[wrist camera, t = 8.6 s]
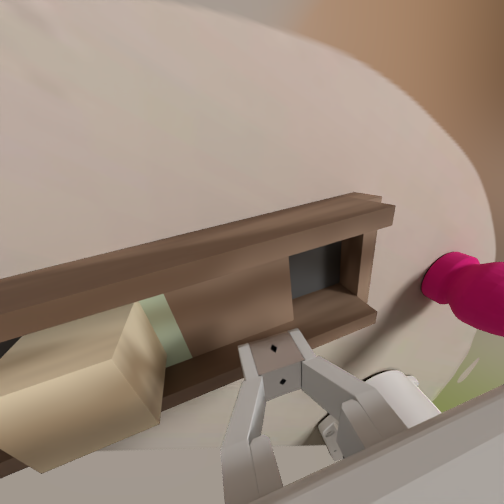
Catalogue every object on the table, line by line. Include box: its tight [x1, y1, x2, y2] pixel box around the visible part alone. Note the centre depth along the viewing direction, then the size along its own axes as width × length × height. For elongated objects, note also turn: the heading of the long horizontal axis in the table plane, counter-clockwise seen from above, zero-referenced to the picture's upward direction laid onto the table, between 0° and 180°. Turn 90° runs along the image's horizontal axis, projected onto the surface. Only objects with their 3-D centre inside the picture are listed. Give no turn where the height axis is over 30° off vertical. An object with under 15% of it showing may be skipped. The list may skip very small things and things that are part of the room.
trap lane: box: [0, 192, 395, 478], centre depth 13 cm, size 9×28×4 cm, turn 99°
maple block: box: [0, 301, 167, 474], centre depth 10 cm, size 5×5×4 cm
